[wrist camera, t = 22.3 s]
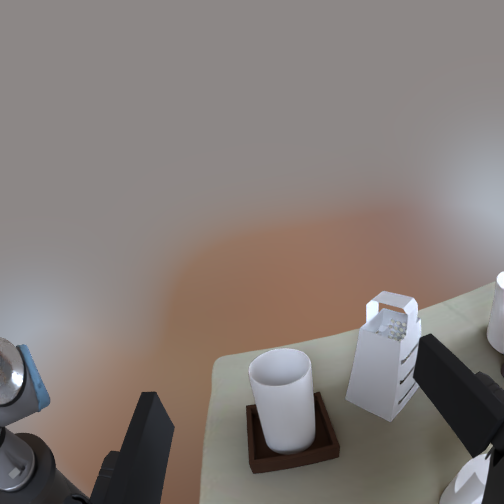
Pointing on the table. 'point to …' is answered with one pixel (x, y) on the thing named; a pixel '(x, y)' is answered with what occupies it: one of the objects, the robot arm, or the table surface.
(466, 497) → the base with upright slab
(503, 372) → the mortar and pestle
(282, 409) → the cup
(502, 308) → the cylinder
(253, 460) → the tray
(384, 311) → the grater
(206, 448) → the table surface
